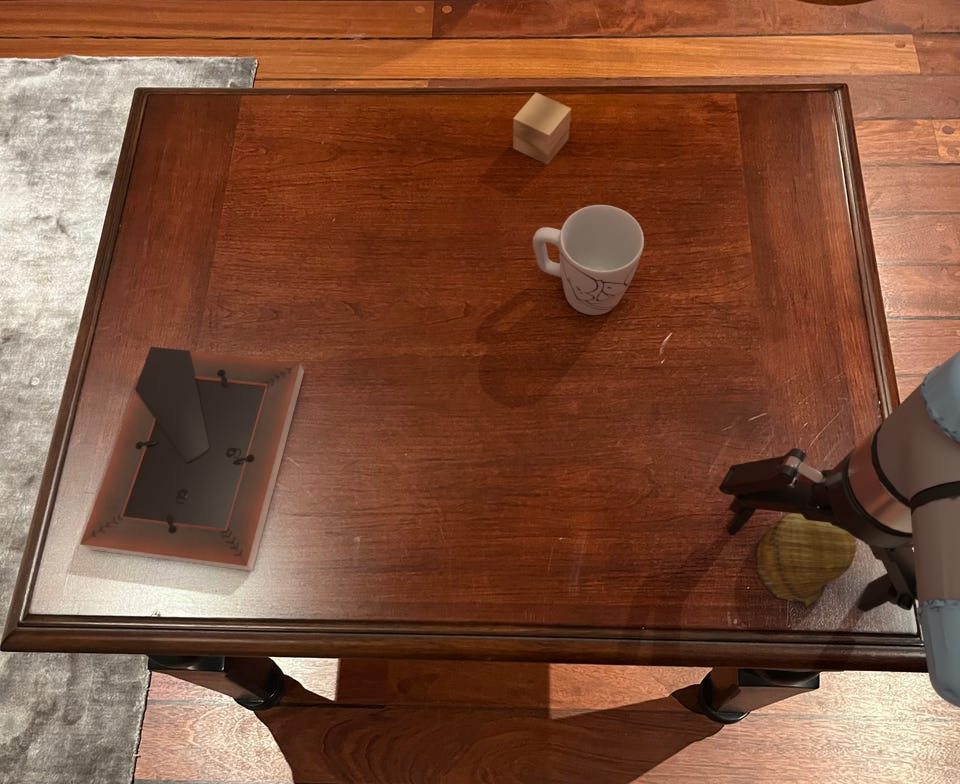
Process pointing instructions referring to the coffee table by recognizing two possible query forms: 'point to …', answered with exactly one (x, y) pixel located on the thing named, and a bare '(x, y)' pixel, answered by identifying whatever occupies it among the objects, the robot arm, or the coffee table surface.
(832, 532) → the seashell
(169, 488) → the picture frame
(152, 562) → the coffee table surface
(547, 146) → the maple block
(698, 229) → the coffee table surface
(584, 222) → the mug
